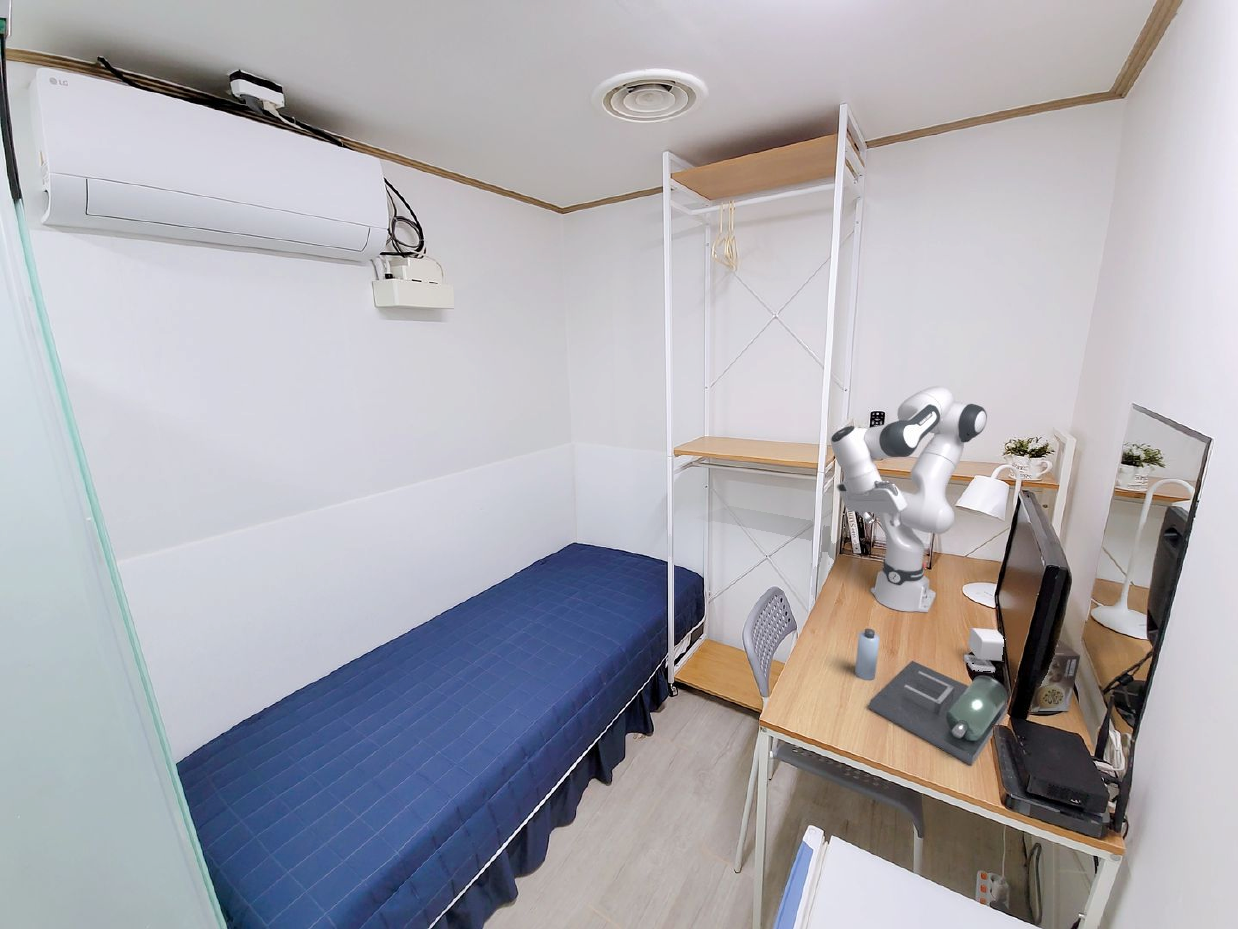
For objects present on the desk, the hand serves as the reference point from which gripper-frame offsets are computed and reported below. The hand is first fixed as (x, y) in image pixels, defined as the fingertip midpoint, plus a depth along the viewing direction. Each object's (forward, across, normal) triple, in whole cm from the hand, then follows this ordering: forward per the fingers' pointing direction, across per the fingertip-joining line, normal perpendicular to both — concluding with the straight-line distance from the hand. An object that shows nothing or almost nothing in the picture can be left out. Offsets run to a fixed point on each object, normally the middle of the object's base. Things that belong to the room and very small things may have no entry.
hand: (883, 524), depth 143 cm
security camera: (+46, -9, -4) cm, 47 cm away
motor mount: (+39, -18, +22) cm, 48 cm away
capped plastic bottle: (+32, -2, +27) cm, 42 cm away
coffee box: (+50, -24, -2) cm, 55 cm away
